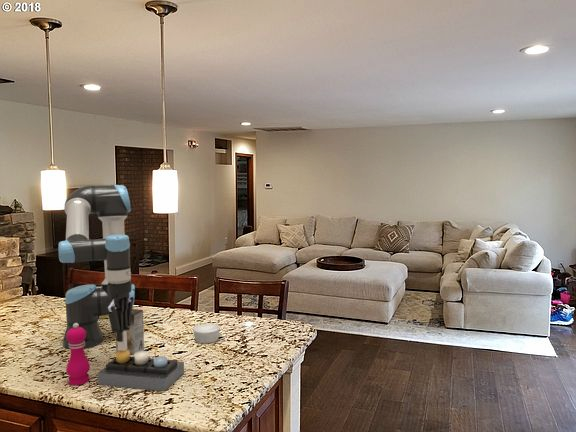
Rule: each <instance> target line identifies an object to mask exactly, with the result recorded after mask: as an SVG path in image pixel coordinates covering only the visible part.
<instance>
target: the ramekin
mask: <svg viewBox="0 0 576 432" xmlns="http://www.w3.org/2000/svg"><path fill="white" fill-rule="evenodd" d="M220 330H221V326H220V325H219V324H217V323H211V322H210V323H201V324H198V325H194V326H193V328H192V332H193V335H194V340H195V341H196V342H197V344H198V343H199V344H211V343H215V342H217V341H218V340H219V337H220Z"/></svg>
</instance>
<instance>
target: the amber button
mask: <svg viewBox="0 0 576 432" xmlns="http://www.w3.org/2000/svg"><path fill="white" fill-rule="evenodd" d="M130 357H131V354H130V352H129V350H125V351H123V350H119V351H117V352H116V351H115V358H116V362H117V363H119V364H125V365H126V364H127V362H128V361H129V360H130Z"/></svg>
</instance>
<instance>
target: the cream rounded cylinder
mask: <svg viewBox="0 0 576 432" xmlns="http://www.w3.org/2000/svg"><path fill="white" fill-rule="evenodd" d="M133 355H134V356H133V357H135V364H137V365H138V366H145V364H146V363H148V358H149V352H148V351H147V350H142V351H139V352H136V353H135V354H133Z"/></svg>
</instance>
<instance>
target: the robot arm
mask: <svg viewBox="0 0 576 432" xmlns="http://www.w3.org/2000/svg"><path fill="white" fill-rule="evenodd" d="M130 200H131V199H130V196H129V192H128V189H127V187H126V186H125V185H123V184H122V185H119V184H110V185H109V184H107V185H85V186H82V187H78V188H77V189H75V190H74V191H72V192H71V193H70V195H68V196H67V198H66V199H65V203H64V212H65V215H66V225H65V226H66V227H65V228H66V229H65V240H62V241H59V242H58V250H57V251H58V259H59V261H60V263H62V264H66V263H67V264H69V263H71V264H74V263H83V262H92V261H94V262H97V261H103V263H104V265H103V266H104V280H103V281H102V282H101V284H100V285H101V286H102V287H101V286H100V287H101V288H96V287H97V285H96V284H94V283H91V284H83V285H78V286H75V287H73V288H70V289H68V290H67V291H66V292H65V301H64V304H65V314H66V315H65V316H66V317H65V318H66V329H65V332H64V336H63V338H62V346H63V348H65V347H66V348H65V349H68V348H69V341H68V340H67V338H66V335H67V332H68V331H69V330H70V329H71V328H73V324H74V323H78V324H79V327H81V328H83V329H84V330H85V331H86V338H85V339H84V341H85V346H84V349H87V348H91V347H95V346H98V345H100V344H101V343H103V341H104V334H103V332H102V329H101V327H100V324H99V321H98V320H99V319H98V318H97V316H104V315H109V318H108V319H109V325H110V327H111V328H110V329H111V331H112V332H114V333H115V334H116V333H117V345H118V350H123V351H125V350H127V330H129V329H130V327H128V326H130V325H131V314H132V309H134V305H135V304H134V303H135V297H136V296H135V295H136V294H135V292H136V291H135V290H136V287H135V284H133V283H132V281H131V279H132V276H131V275H132V272H131V244H130V243H131V242H130V237H129V235H127V234H126V233H125V220H126V219H127V218H128V213H130V212H131V211H132V208H131V201H130ZM90 214H91V215H92V214H97V219H99V220H100V221H101V223H102V238H91V239H90V236H89V235H90V230H89V215H90ZM100 293H101V294H100Z"/></svg>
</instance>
